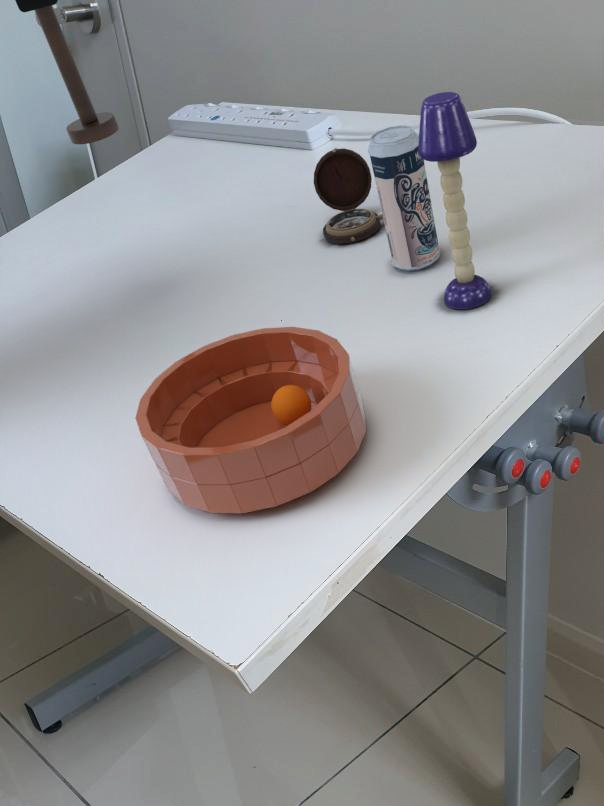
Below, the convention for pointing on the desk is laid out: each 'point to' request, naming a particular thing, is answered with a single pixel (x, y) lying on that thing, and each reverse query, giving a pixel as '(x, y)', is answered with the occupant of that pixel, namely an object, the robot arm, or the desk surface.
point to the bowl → (252, 420)
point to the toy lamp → (453, 189)
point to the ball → (290, 404)
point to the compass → (345, 195)
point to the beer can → (404, 197)
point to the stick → (75, 85)
